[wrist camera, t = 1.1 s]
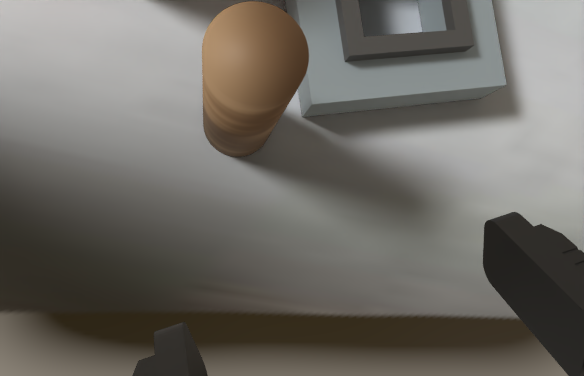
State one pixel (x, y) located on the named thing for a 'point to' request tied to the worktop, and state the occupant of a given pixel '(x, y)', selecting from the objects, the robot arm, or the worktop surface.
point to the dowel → (249, 74)
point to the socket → (397, 57)
